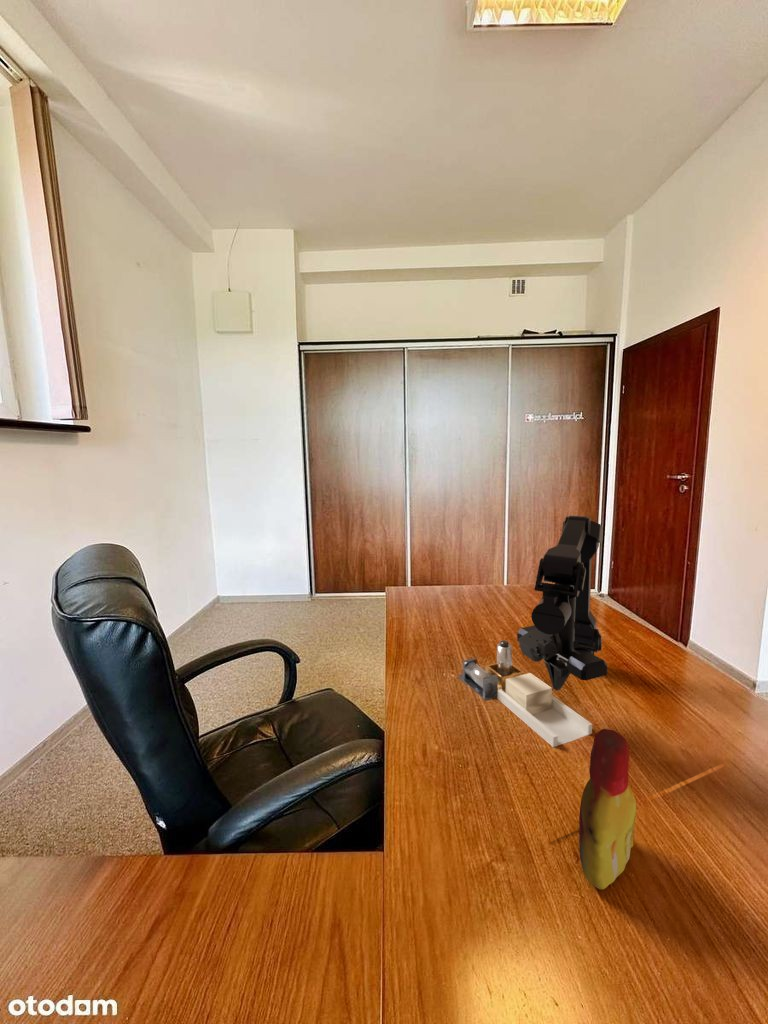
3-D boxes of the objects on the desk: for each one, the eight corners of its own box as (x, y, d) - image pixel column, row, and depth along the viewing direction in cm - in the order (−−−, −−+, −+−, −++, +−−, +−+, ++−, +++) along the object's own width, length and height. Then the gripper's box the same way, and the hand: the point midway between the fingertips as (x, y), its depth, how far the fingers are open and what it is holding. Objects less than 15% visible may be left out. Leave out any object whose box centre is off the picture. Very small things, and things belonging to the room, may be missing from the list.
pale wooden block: (527, 691, 98) (528, 671, 97) (551, 708, 91) (552, 687, 90) (503, 697, 96) (504, 677, 95) (525, 716, 89) (526, 695, 88)
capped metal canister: (504, 673, 106) (504, 638, 105) (515, 679, 103) (515, 643, 102) (494, 676, 105) (493, 641, 104) (504, 683, 101) (504, 646, 100)
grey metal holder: (508, 664, 112) (509, 647, 111) (540, 686, 101) (540, 668, 100) (458, 676, 106) (458, 659, 105) (485, 702, 95) (485, 682, 94)
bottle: (614, 914, 51) (622, 768, 48) (562, 877, 55) (567, 742, 53) (641, 848, 59) (649, 721, 56) (594, 821, 64) (599, 702, 61)
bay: (531, 690, 99) (532, 680, 99) (591, 735, 83) (592, 724, 82) (497, 700, 95) (497, 690, 95) (553, 749, 79) (553, 737, 79)
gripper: (497, 606, 88) (496, 675, 90) (563, 641, 70) (560, 726, 72) (539, 599, 91) (537, 665, 93) (611, 631, 74) (607, 711, 76)
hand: (556, 689), depth 84 cm, fingers closed
